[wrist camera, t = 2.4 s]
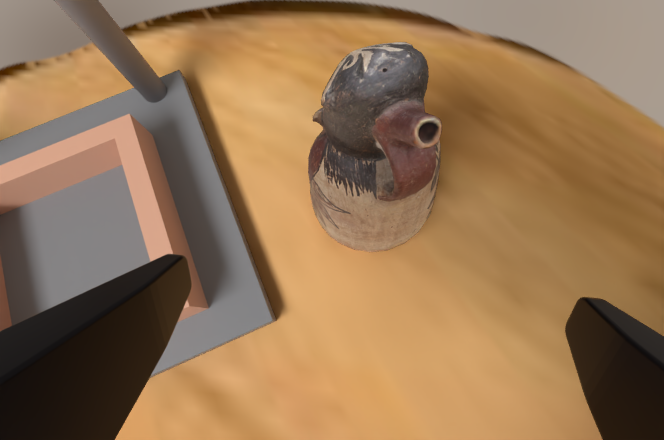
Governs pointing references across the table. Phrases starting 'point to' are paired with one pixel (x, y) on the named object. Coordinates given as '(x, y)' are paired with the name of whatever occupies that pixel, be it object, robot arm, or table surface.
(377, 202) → the figurine
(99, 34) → the awning stand
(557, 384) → the table surface
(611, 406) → the robot arm
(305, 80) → the table surface
